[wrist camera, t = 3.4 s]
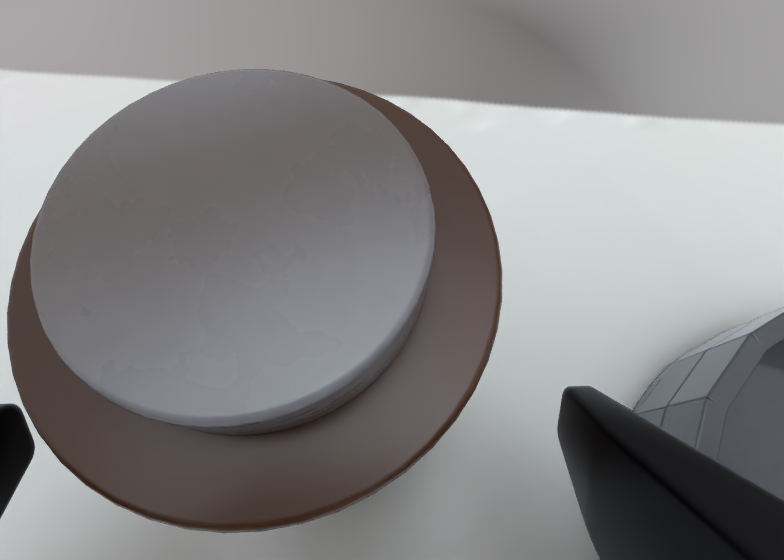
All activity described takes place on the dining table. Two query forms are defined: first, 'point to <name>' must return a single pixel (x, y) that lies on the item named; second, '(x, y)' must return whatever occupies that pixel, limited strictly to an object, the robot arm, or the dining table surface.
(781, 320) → the pan
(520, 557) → the dining table surface
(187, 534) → the dining table surface
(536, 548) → the dining table surface
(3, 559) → the dining table surface
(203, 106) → the pepper mill
